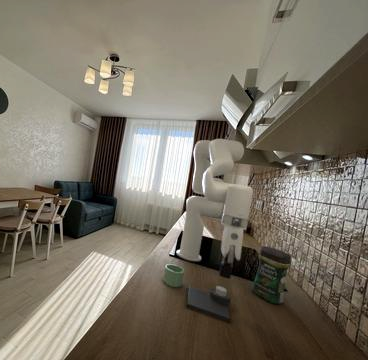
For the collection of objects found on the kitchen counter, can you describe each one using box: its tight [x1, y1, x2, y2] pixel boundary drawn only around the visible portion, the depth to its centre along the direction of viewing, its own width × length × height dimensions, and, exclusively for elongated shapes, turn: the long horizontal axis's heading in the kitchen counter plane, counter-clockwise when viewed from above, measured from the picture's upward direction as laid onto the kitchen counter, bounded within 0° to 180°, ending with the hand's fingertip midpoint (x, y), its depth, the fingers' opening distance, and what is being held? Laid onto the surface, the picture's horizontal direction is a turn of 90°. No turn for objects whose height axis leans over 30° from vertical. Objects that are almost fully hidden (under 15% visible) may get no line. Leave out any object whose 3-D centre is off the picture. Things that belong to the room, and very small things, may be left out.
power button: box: [215, 285, 228, 297], centre depth 71 cm, size 3×3×2 cm
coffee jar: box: [251, 245, 292, 305], centre depth 80 cm, size 10×8×19 cm
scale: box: [186, 285, 232, 323], centre depth 69 cm, size 13×13×3 cm
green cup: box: [162, 263, 186, 288], centre depth 79 cm, size 7×7×6 cm
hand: (224, 276), depth 71 cm, fingers closed
